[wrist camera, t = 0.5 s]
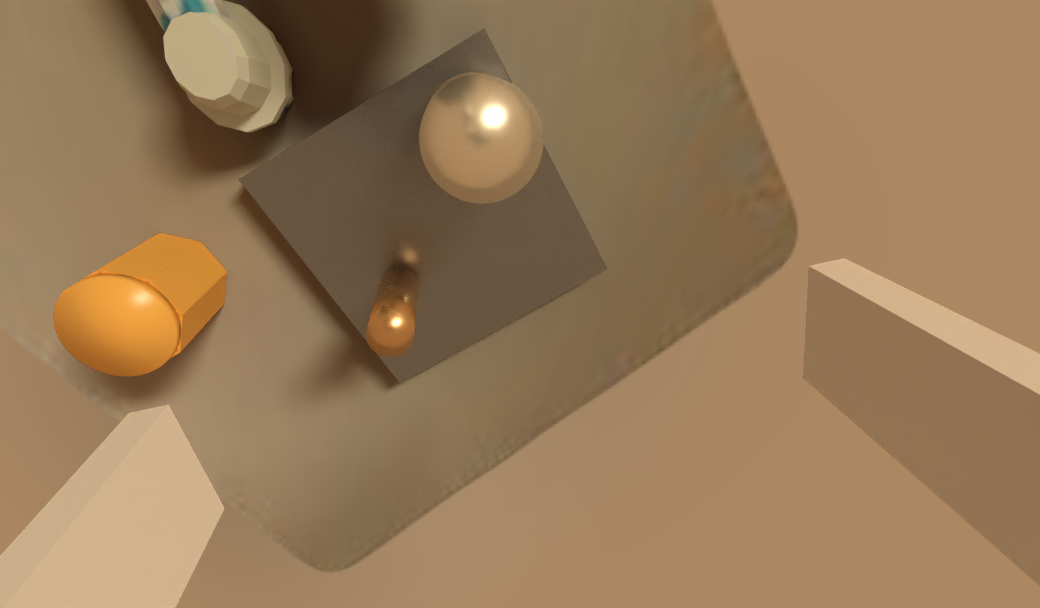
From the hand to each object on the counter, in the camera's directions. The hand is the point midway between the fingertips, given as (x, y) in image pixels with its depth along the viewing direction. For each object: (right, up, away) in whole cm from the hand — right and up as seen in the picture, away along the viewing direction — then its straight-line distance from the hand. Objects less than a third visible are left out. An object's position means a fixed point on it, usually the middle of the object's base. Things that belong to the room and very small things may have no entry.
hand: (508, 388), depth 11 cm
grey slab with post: (-5, +7, +24) cm, 25 cm away
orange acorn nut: (-21, +3, +23) cm, 32 cm away
